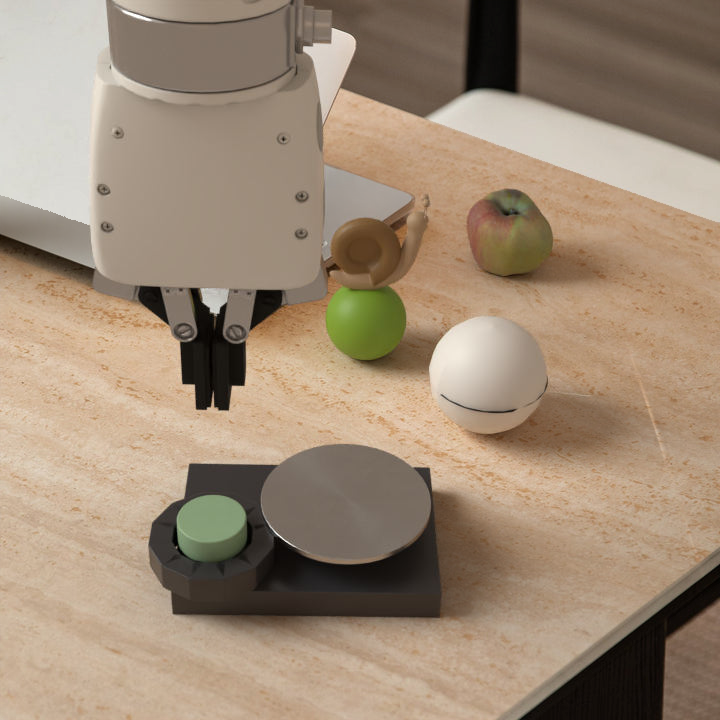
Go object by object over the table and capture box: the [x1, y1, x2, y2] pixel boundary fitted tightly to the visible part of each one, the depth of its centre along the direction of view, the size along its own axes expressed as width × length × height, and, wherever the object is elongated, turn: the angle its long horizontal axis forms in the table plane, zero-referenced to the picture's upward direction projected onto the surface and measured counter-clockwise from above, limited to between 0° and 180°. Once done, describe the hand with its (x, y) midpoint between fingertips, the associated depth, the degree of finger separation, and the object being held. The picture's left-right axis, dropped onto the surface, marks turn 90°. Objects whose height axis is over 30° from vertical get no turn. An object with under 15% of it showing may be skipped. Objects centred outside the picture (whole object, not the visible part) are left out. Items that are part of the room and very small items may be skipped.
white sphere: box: [428, 315, 592, 435], centre depth 76 cm, size 10×7×7 cm
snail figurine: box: [325, 193, 431, 361], centre depth 81 cm, size 5×6×12 cm
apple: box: [466, 188, 554, 277], centre depth 93 cm, size 6×8×6 cm
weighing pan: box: [261, 443, 431, 565], centre depth 67 cm, size 9×9×1 cm
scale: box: [147, 462, 443, 619], centre depth 68 cm, size 15×11×4 cm
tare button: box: [177, 495, 247, 563], centre depth 65 cm, size 4×4×2 cm
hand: (215, 392), depth 61 cm, fingers closed
